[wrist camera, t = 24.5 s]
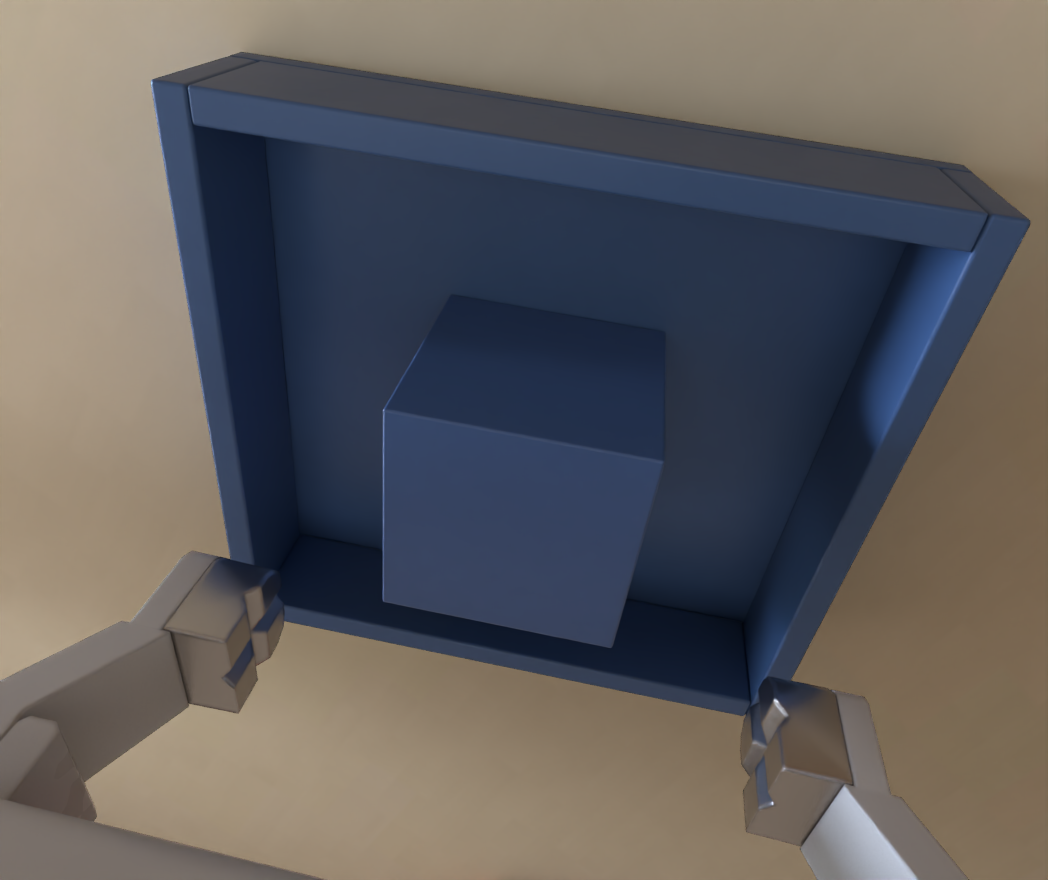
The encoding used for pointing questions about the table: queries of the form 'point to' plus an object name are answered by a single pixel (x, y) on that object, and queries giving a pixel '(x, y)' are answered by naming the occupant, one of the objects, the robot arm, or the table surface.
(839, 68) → the table surface
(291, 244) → the blue tray
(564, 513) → the blue block
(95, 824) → the robot arm
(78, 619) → the table surface
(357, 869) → the table surface
